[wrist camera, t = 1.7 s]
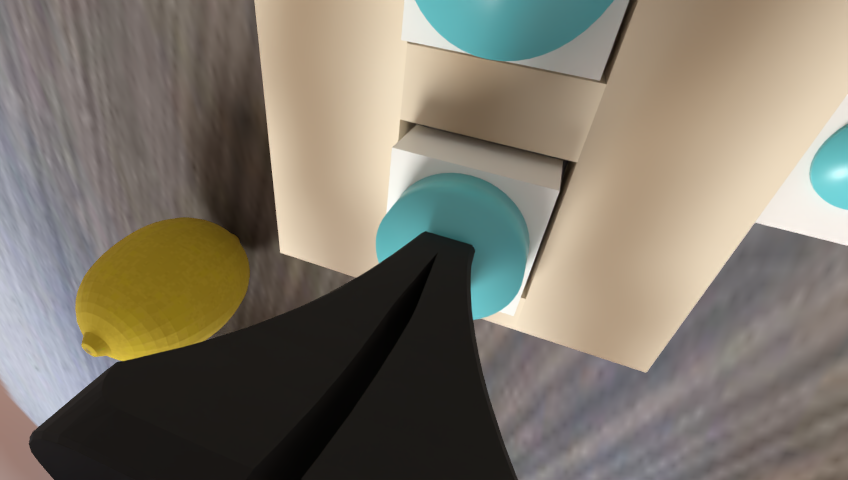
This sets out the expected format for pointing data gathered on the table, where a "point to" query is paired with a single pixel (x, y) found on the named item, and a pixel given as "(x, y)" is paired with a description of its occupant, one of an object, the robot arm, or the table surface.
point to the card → (817, 187)
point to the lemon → (161, 289)
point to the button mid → (520, 31)
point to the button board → (562, 145)
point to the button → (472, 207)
